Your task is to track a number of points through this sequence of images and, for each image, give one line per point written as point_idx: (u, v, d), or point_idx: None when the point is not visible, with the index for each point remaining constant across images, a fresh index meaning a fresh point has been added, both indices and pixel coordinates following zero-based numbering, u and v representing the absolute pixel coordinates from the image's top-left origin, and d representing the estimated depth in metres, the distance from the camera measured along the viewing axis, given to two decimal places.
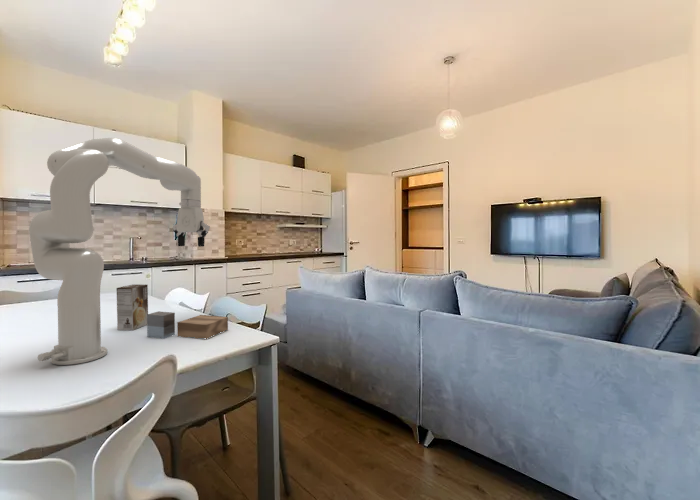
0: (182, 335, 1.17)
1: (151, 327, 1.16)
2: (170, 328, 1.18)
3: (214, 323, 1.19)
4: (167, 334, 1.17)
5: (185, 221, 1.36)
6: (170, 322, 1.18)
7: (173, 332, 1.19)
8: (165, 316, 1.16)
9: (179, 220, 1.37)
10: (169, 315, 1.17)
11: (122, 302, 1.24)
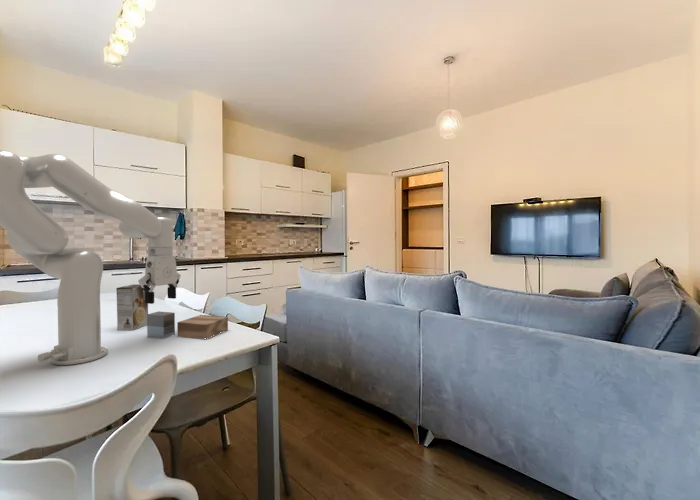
0: (182, 335, 1.17)
1: (151, 327, 1.16)
2: (170, 328, 1.18)
3: (214, 323, 1.19)
4: (167, 334, 1.17)
5: (167, 272, 1.17)
6: (170, 322, 1.18)
7: (173, 332, 1.19)
8: (165, 316, 1.16)
9: (159, 272, 1.14)
10: (169, 315, 1.17)
11: (122, 302, 1.24)
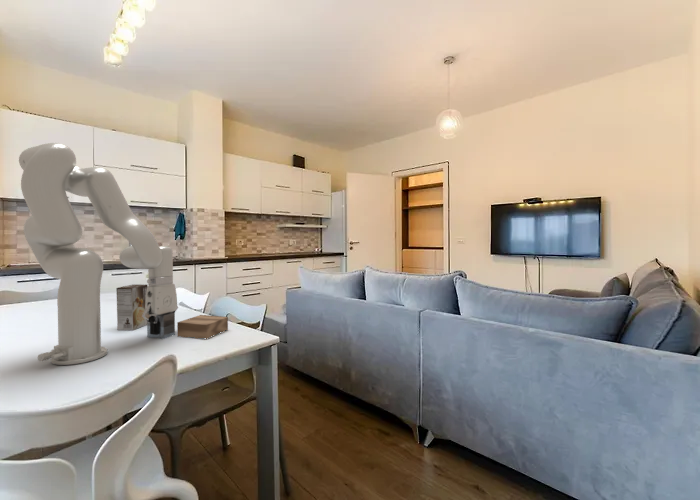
0: (182, 335, 1.17)
1: None
2: (170, 328, 1.18)
3: (214, 323, 1.19)
4: (167, 334, 1.17)
5: (167, 301, 1.17)
6: (170, 322, 1.18)
7: (173, 332, 1.19)
8: (165, 316, 1.16)
9: (159, 301, 1.14)
10: (169, 315, 1.17)
11: (122, 302, 1.24)
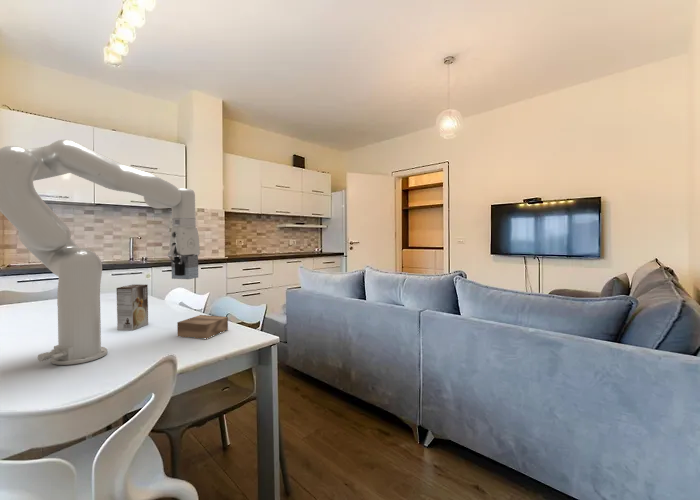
0: (182, 335, 1.17)
1: None
2: (194, 270, 1.20)
3: (214, 323, 1.19)
4: (192, 275, 1.18)
5: (191, 243, 1.19)
6: (194, 264, 1.19)
7: (197, 274, 1.21)
8: (189, 257, 1.17)
9: (184, 242, 1.15)
10: (193, 257, 1.19)
11: (122, 302, 1.24)
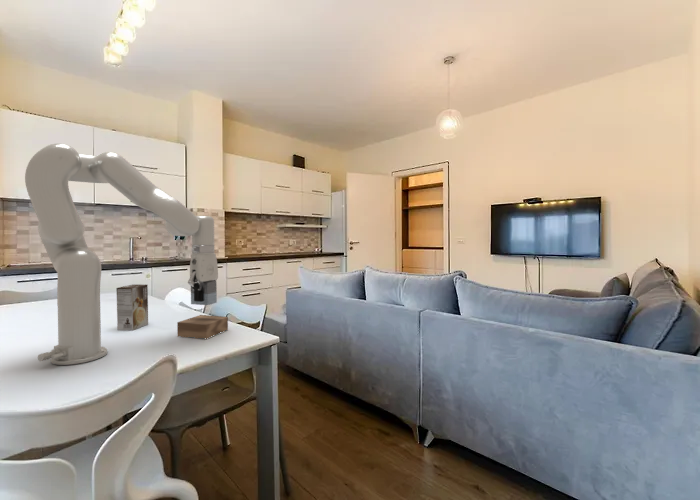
0: (182, 335, 1.17)
1: None
2: (213, 295, 1.21)
3: (214, 323, 1.19)
4: (210, 301, 1.20)
5: (209, 269, 1.20)
6: (213, 290, 1.21)
7: (215, 300, 1.23)
8: (208, 283, 1.19)
9: (203, 269, 1.17)
10: (212, 283, 1.21)
11: (122, 302, 1.24)
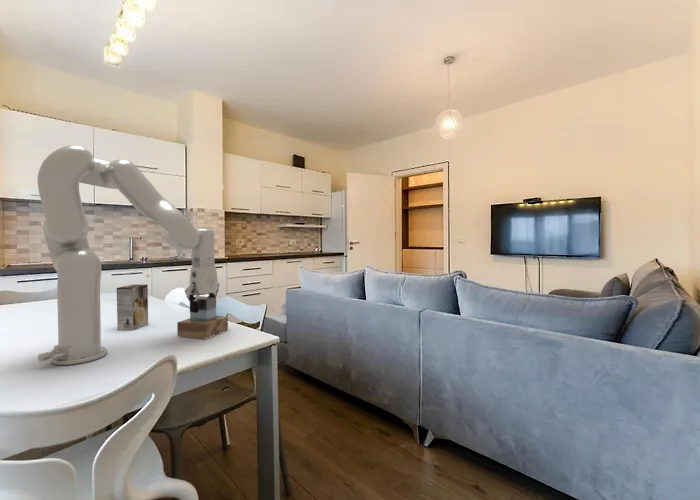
0: (182, 335, 1.17)
1: None
2: (212, 312, 1.21)
3: (214, 323, 1.19)
4: (210, 317, 1.20)
5: (209, 281, 1.20)
6: (212, 306, 1.21)
7: (214, 316, 1.23)
8: (208, 300, 1.19)
9: (203, 281, 1.17)
10: (211, 299, 1.21)
11: (122, 302, 1.24)
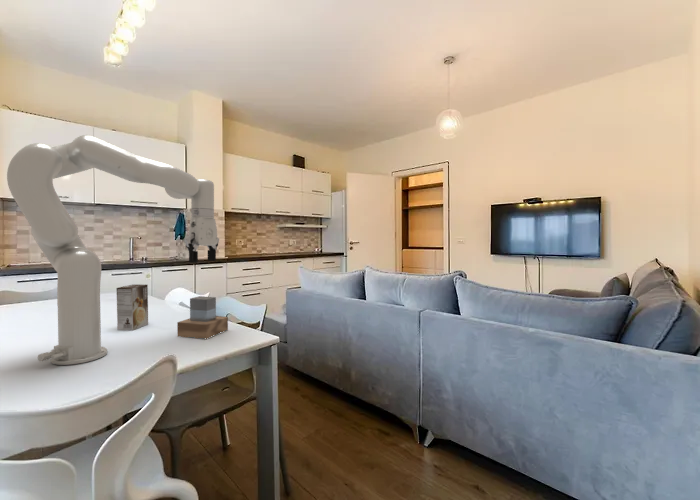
0: (182, 335, 1.17)
1: (194, 311, 1.20)
2: (212, 312, 1.21)
3: (214, 323, 1.19)
4: (210, 317, 1.20)
5: (209, 233, 1.20)
6: (212, 306, 1.21)
7: (214, 316, 1.23)
8: (208, 300, 1.19)
9: (202, 232, 1.17)
10: (211, 299, 1.21)
11: (122, 302, 1.24)
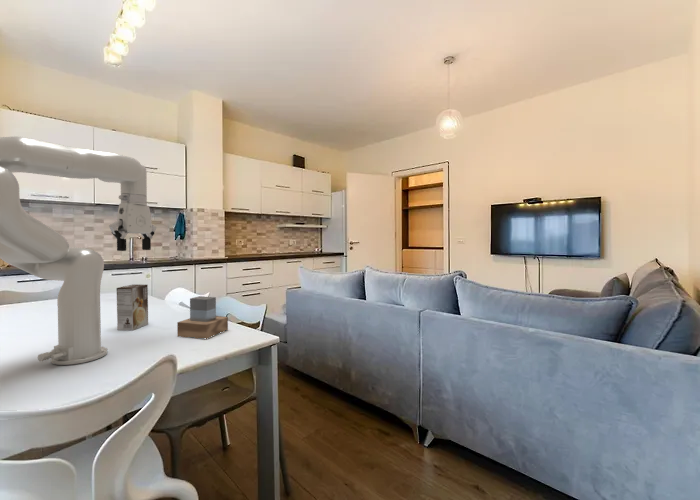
0: (182, 335, 1.17)
1: (194, 311, 1.20)
2: (212, 312, 1.21)
3: (214, 323, 1.19)
4: (210, 317, 1.20)
5: (140, 220, 1.14)
6: (212, 306, 1.21)
7: (214, 316, 1.23)
8: (208, 300, 1.19)
9: (131, 219, 1.11)
10: (211, 299, 1.21)
11: (122, 302, 1.24)
